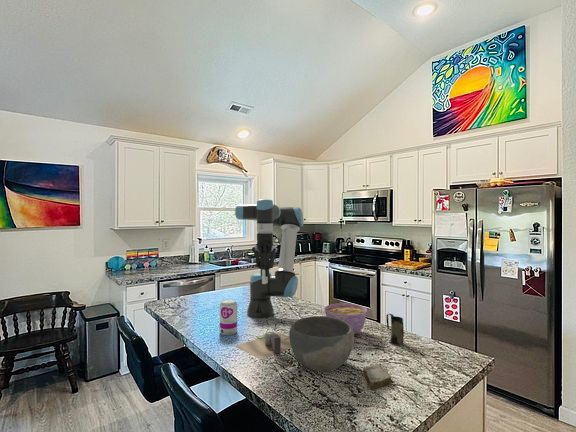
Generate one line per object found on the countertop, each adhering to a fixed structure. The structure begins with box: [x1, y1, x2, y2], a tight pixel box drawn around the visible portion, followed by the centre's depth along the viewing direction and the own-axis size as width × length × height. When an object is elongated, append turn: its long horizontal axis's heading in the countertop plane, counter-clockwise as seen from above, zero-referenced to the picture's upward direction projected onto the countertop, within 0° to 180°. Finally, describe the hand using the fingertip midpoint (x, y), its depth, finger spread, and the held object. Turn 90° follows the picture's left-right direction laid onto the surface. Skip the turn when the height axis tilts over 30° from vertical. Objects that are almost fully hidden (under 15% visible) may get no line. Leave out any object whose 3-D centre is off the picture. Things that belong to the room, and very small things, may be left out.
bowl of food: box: [324, 302, 368, 335], centre depth 157 cm, size 20×20×12 cm
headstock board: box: [234, 331, 292, 360], centre depth 141 cm, size 24×20×2 cm
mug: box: [386, 313, 405, 347], centre depth 145 cm, size 8×6×12 cm
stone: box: [362, 363, 392, 391], centre depth 113 cm, size 15×8×3 cm, turn 0°
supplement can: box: [219, 298, 238, 336], centre depth 158 cm, size 8×8×15 cm
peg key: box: [262, 331, 282, 354], centre depth 140 cm, size 21×4×6 cm, turn 19°
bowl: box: [288, 315, 355, 373], centre depth 124 cm, size 24×24×15 cm
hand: (264, 283), depth 154 cm, fingers closed
